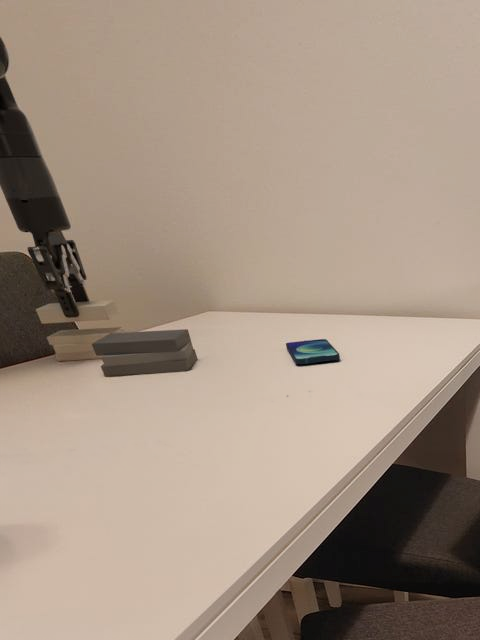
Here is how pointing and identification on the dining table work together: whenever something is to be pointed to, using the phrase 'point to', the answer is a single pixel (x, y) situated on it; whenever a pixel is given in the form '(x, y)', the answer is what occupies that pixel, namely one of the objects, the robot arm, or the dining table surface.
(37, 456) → the dining table surface
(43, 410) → the dining table surface
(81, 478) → the dining table surface
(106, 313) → the beige flat block
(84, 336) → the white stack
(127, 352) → the grey stack
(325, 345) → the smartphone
